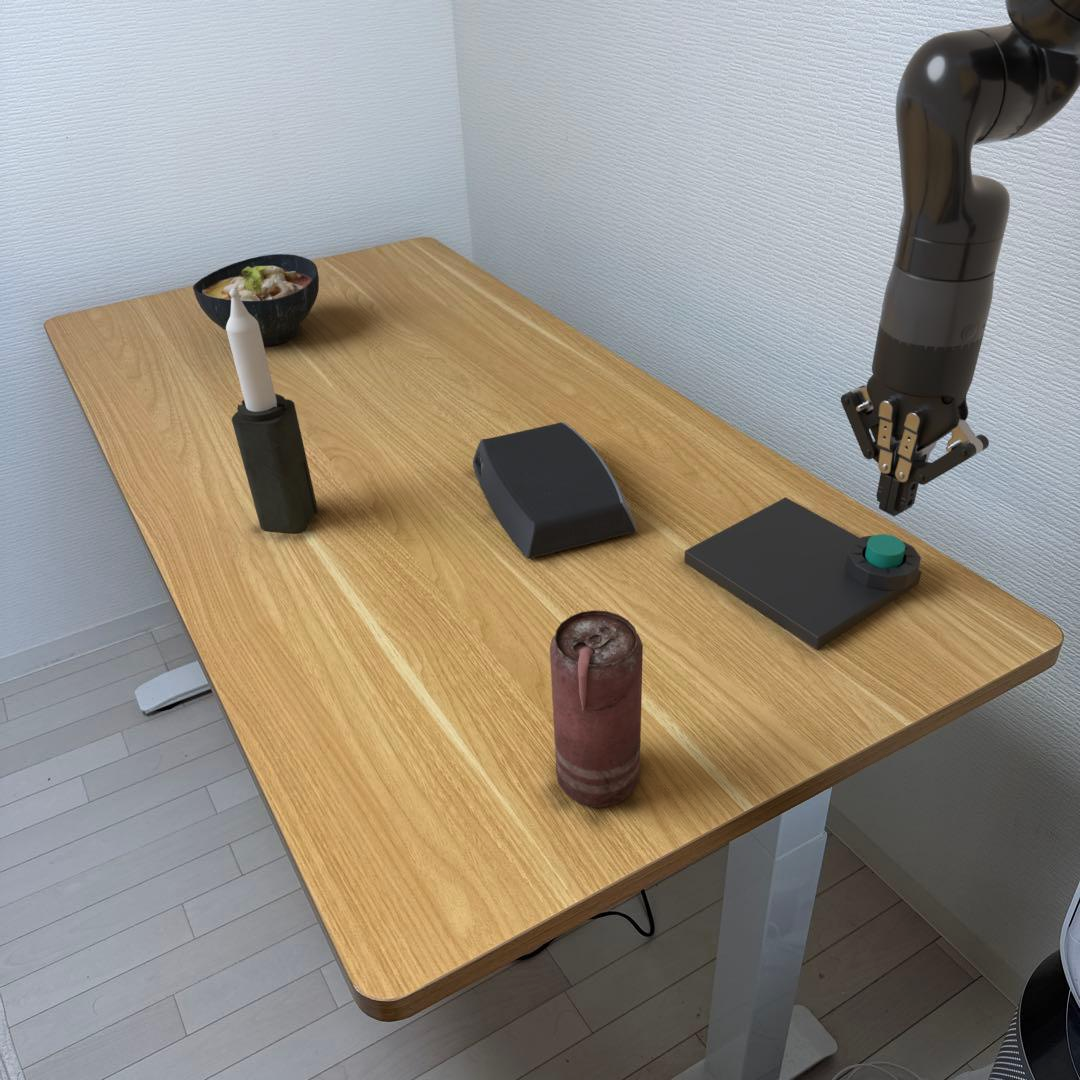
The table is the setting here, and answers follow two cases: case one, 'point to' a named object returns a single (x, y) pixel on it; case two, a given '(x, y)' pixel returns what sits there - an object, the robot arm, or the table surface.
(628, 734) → the can
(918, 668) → the table surface
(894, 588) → the scale
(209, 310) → the bowl
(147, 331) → the table surface
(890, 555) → the button
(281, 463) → the candle
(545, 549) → the hard drive
